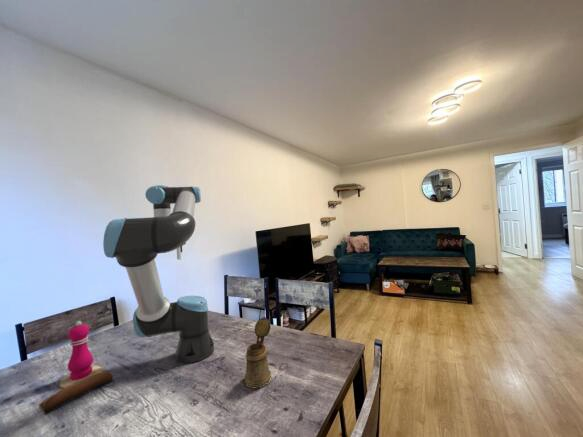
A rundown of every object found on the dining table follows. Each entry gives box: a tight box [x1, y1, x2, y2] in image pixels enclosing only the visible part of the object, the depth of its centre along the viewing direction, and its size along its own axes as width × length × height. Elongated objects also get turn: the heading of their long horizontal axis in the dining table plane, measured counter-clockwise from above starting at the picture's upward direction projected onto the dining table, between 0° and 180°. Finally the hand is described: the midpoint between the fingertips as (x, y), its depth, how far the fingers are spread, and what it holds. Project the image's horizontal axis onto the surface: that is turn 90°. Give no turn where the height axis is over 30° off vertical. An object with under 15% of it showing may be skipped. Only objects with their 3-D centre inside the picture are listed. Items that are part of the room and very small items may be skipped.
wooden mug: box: [244, 316, 272, 388], centre depth 88 cm, size 9×14×18 cm, turn 164°
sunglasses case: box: [38, 371, 114, 415], centre depth 84 cm, size 18×7×7 cm
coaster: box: [59, 365, 103, 389], centre depth 93 cm, size 12×12×1 cm
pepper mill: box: [67, 320, 94, 380], centre depth 93 cm, size 7×7×20 cm
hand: (165, 261), depth 122 cm, fingers open, 13 cm apart
